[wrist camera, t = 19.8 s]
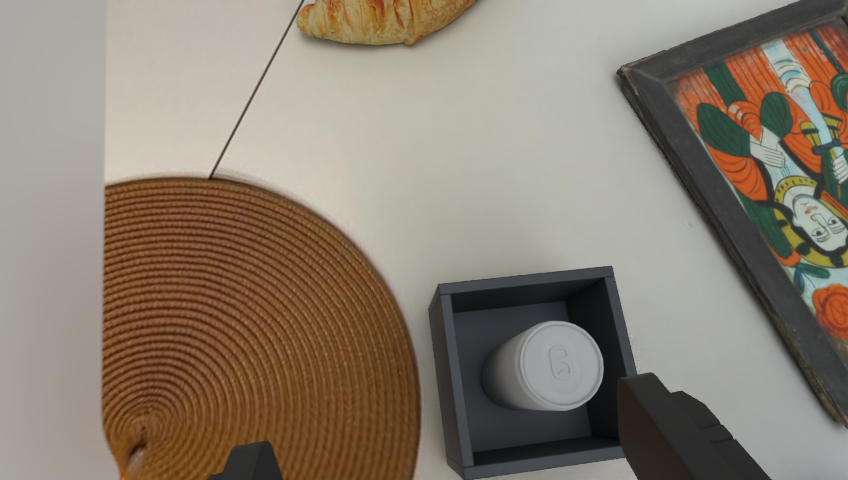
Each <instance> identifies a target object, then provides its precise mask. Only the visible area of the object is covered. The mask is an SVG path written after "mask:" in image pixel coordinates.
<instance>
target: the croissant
mask: <svg viewBox="0 0 848 480" xmlns="http://www.w3.org/2000/svg"><path fill="white" fill-rule="evenodd" d="M475 1H476V0H316V2H315V4H308V5H306V6H304V7H303V8H302V9H301V11H300V12H299V13H298V16H297V19H296V23H297V25H298V27H299V28H300V31H301V32H303V33H305V34H307V35H309V36H311V37H313V36H316V37H319V38H326V39H330V40H334V41H338V42H341V43H351V44H355V43H360V44H372V45H380V44H394V43H401V42H404V43H405V44H406V45H413V44H414V43H415V42H417V41H418V40H419V39H421V38H422V37H424V36H426V35H428V34H429V33H431V32H433V31H436V30H439V29H441V28H443V27H445V26H446V25H448V24H449V23H450V22H452V21H453V20H454V19H456V18H457V17H458V16H459V15H460V14H461V13H462V12H463V11H464V10H465V9H466V8H467V7H469V6H470V5H472V4H473V3H474V2H475Z"/></svg>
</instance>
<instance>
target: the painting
mask: <svg viewBox="0 0 848 480" xmlns="http://www.w3.org/2000/svg"><path fill="white" fill-rule="evenodd" d="M616 74H618V75H619V76H620V77H621V79H622V81H623V82H622V85H621V88H622V91H623V93H624V94H625V96H626V97H627V99H628V100H629V102H630V103H631V105H632V106H633V108H634V109H635V111H636V112H637V114H638V116H639V117H640V119H641V121H642V122H643V123H644V125H645V126H646V128H647V129H648V131H649V132H650V133H651V135H652V136H653V138H654V139H655V140H656V142H657V143H658V145H659V146H660V148H661V149H662V151H663V152H664V153H665V155H666V157H667V158H668V160H669V161H670V163H671V164H672V166H673V167H674V169H675V170H676V172H677V173H678V175H679V176H680V178H681V179H682V181H683V182H684V184H685V185H686V187H687V189H688V190H689V192H690V193H691V195H692V196H693V198H694V199H695V201H696V202H697V203H698V205H699V206H700V207H701V209H702V210H703V211H704V213H705V214H706V215H707V217H708V218H709V220H710V221H711V222H712V224H713V225H714V227H715V228H716V230H717V231H718V233H719V236H720V239H721V240H722V242H723V243H724V244H725V247H726V250H727V251H728V253H729V254H730V256H731V257H732V258H733V259H734V261H735V262H736V263H737V265H738V266H739V267H740V269H741V270H742V272H743V273H744V275H745V276H746V278H747V280H748V281H749V283H750V285H751V286H752V288H753V289H754V290H755V292H756V293H757V295H758V296H759V298H760V300H761V302H762V304H763V305H764V307H765V308H766V310H767V312H768V313H769V315H770V317H771V318H772V320H773V322H774V324H775V325H776V327H777V329H778V331H779V332H780V334H781V335H782V337H783V339H784V341H785V342H786V344H787V346H788V347H789V349H790V351H791V352H792V354H793V356H794V357H795V359H796V361H797V363H798V364H799V366H800V367H801V369H802V370H803V372H804V373H805V375H806V377H807V379H808V381H809V383H810V384H811V386H812V388H813V389H814V391H815V393H816V394H817V396H818V397H819V399H820V400H821V402H822V404H823V405H824V407H825V408H826V410H827V411H828V413H829V414H830V416H831V417H832V418H833V420H834V421H836V422H840V421H843V423H844V425H845V427H846V428H847V429H848V0H799V1H797V2H794V3H792V4H788V5H787V6H784V7H781V8H778V9H775V10H772V11H769V12H767V13H765V14H762V15H759V16H757V17H754V18H752V19H749V20H746V21H743V22H740V23H737V24H735V25H732V26H729V27H726V28H723V29H720V30H716V31H713V32H712V33H709V34H706V35H704V36H701V37H698V38H695V39H694V40H691V41H687V42H685V43H683V44H680V45H678V46H675V47H673V48H670V49H668V50H663V51H661V52H658V53H656V54H653V55H651V56H648V57H645V58H642V59H640V60H637V61H634V62H631V63H627V64H625V65H623V66H621V68H620V69H619V70H618V71H617V73H616Z"/></svg>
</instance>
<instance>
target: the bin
mask: <svg viewBox="0 0 848 480" xmlns="http://www.w3.org/2000/svg"><path fill="white" fill-rule="evenodd" d="M428 312H429V320H430V328H431V335H432V343H433V351H434V359H435V367H436V375H437V383H438V391H439V399H440V407H441V415H442V423H443V431H444V439H445V447H446V455H447V463H448V466H450V467H451V468H452V469H453V470H454V471H455V472H456V473H457V474H458V475H459V476H460V477H462V478H463V479H464V480H474V479H481V478H488V477H495V476H501V475H508V474H515V473H522V472H529V471H536V470H543V469H550V468H557V467H564V466H571V465H578V464H585V463H592V462H599V461H606V460H612V459H619V458H626V457H625V455H624V453H623V450H622V447H621V443H620V439H619V433H618V410H617V380H618V379H619V378H622V377H628V376H633V375H637V371H636V367H635V363H634V358H633V354H632V350H631V345H630V341H629V337H628V333H627V328H626V324H625V320H624V315H623V311H622V307H621V303H620V298H619V294H618V290H617V285H616V281H615V277H614V272H613V268H612V266H604V267H595V268H585V269H576V270H567V271H557V272H548V273H538V274H529V275H519V276H510V277H501V278H491V279H482V280H472V281H463V282H454V283H444V284H438V287H437V289H436V291H435V294H434V296H433V299H432V301H431V303H430V306H429V308H428ZM547 321H565V322H568V323H572V324H575V325H577V326H578V327H580V328H582V329H583V330H585V331H586V332H587V333H588V334H589V335H590V336H591V337H592V338H593V339H594V341H595V342H596V344H597V345H598V347H599V349H600V352H601V355H602V358H603V368H604V371H603V377H602V382H601V384H600V386H599V388H598V390H597V392H596V393H595V394H594V395H593V397H592V398H591V399H590V400H588V401H587V402H585V403H584V404H582V405H581V406H579V407H577V408H574V409H571V410H567V411H547V410H509V409H506V408H502V407H500V406H499V405H497V404H496V403H494V402H493V401H492V400H491V399H490V398H489V397H488V395H487V393H486V392H485V390H484V388H483V384H482V380H481V378H482V368H483V365H484V362H485V360H486V358H487V356H488V355H489V354H490V352H491V351H492V350H493V349H494V348H496V347H498V346H499V345H501V344H503V343H504V342H506V341H508V340H510V339H512V338H513V337H515V336H517V335H519V334H521V333H522V332H524V331H526V330H528V329H530V328H531V327H533V326H535V325H537V324H539V323H543V322H547Z"/></svg>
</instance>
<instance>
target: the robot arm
mask: <svg viewBox="0 0 848 480" xmlns="http://www.w3.org/2000/svg"><path fill="white" fill-rule="evenodd" d="M617 410H618V433H619V439H620V443H621V447H622V450H623V453H624V455H625V457H626V459H627V461H628V463H629V465H630V467H631V468H632V470H633V472H634V473H635V475H636V477H637V479H638V480H771V479H770V477H769V476H768V475H767V474H766V473H765V472H764V471H763V470H762V468H761V467H760V466H759V465H758V464H757V463H756V462H755V461H754V459H753V458H752V457H751V456H750V455H749V454H748V453H747V451H746V450H745V449H744V448H743V447H742V446H741V445H740V444H739V442H738V441H737V440H736V439H735V440H734V439H733V437H732V435H731V433H730V432H729V431H728V430H727V429H726V428H725V427H724V426H723V425H721V424H720V421H719V420H718V419H717V418H716V417H715V415H714V414H713V413H712V412H711V411H710V410H709V409H708V408H707V406H706V405H705V404H704V403H702V402H700V401H698V400H697V399H695V398H693V397H692V396H690V395H688V394H687V393H685V392H683V391H678V392H673V393H670V392H669V391H668V390H667V388H666V387H665V386H664V385H663V384H662V382H661V381H660V380H659V379H658V377H657V376H656V375H655V374H653V373H651V372H650V373H644V374H639V375H633V376H628V377H622V378H619V379H618V380H617ZM207 480H283V478H282V475H281V472H280V469H279V466H278V463H277V460H276V457H275V454H274V451H273V448H272V446H271V444H270V442H269V441H262V442H257V443H251V444H246V445H240V446H235V447H233V449H232V450H231V452H230V455H229V457H228V460H227V463H226V466H225V468H224V471H223V473H220V474H214V475H211V476H210V477H209V478H208V479H207Z"/></svg>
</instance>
